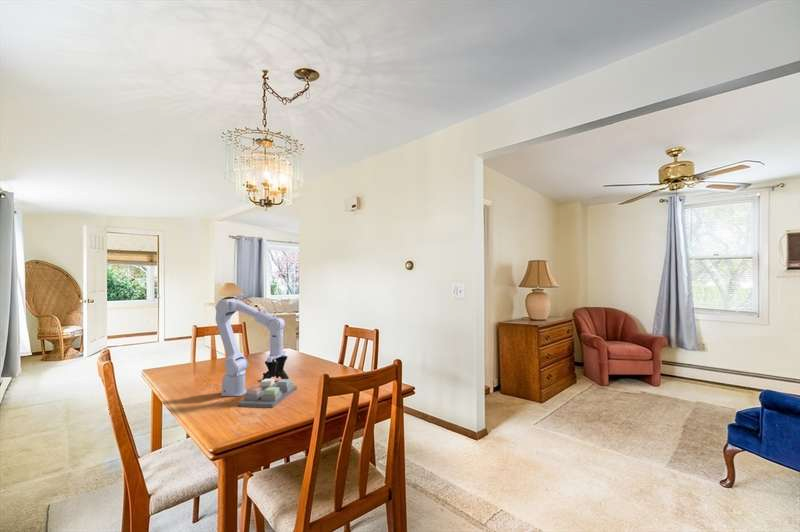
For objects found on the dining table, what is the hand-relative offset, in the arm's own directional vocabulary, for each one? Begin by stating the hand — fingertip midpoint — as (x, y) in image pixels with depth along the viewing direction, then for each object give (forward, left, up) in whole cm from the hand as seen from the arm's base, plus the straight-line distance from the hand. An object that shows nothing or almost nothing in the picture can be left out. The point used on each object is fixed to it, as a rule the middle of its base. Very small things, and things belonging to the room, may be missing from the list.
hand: (276, 374), depth 168 cm
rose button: (-6, -9, -6) cm, 12 cm away
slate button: (+2, +3, -6) cm, 7 cm away
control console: (-2, -3, -9) cm, 10 cm away
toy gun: (-11, +22, -10) cm, 27 cm away
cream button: (-6, +3, -6) cm, 9 cm away
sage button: (+2, -9, -6) cm, 11 cm away
